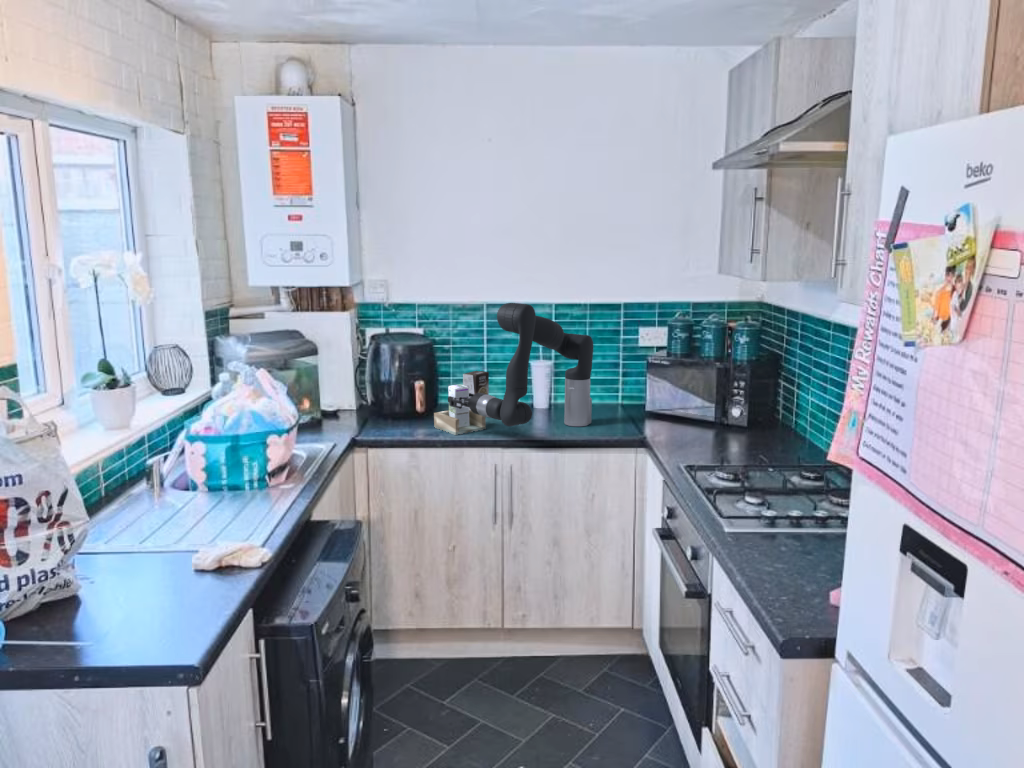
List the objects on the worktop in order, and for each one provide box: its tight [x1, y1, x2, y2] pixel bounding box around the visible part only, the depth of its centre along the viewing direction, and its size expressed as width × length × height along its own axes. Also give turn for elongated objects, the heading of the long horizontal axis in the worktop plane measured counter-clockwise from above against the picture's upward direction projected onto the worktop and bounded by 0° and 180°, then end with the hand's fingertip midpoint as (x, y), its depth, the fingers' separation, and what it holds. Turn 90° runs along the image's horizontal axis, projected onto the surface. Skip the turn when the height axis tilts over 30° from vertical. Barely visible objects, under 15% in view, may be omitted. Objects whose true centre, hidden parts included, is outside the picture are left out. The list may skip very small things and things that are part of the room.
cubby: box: [433, 409, 487, 436], centre depth 275 cm, size 13×14×6 cm
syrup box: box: [448, 384, 469, 427], centre depth 274 cm, size 6×6×14 cm
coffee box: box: [462, 370, 490, 410], centre depth 297 cm, size 9×6×16 cm
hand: (458, 397), depth 273 cm, fingers open, 8 cm apart
